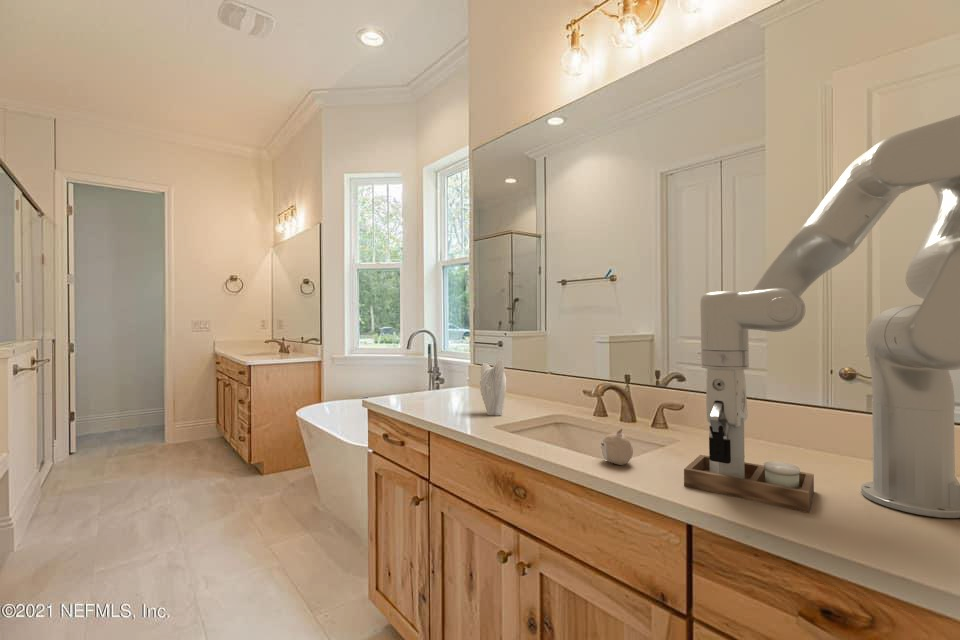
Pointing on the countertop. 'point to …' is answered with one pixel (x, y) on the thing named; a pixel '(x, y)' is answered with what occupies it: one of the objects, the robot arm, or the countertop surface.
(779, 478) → the cream jar
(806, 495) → the walnut caddy
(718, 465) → the skincare box
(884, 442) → the robot arm
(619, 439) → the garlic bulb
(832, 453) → the countertop surface
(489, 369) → the shell sculpture
